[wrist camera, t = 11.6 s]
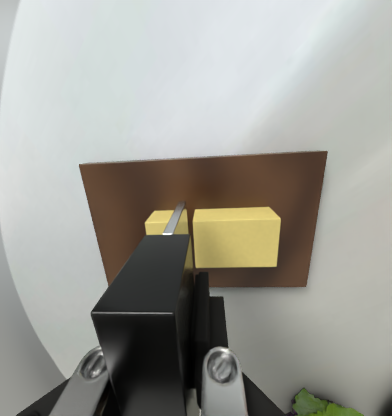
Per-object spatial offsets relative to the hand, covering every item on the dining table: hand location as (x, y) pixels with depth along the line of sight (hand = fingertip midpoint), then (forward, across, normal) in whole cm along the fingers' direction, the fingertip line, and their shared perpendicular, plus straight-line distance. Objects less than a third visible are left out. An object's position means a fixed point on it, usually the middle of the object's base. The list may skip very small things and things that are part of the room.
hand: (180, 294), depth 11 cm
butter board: (+10, -1, 0) cm, 10 cm away
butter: (+9, -4, 0) cm, 9 cm away
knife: (+4, 0, 0) cm, 4 cm away
